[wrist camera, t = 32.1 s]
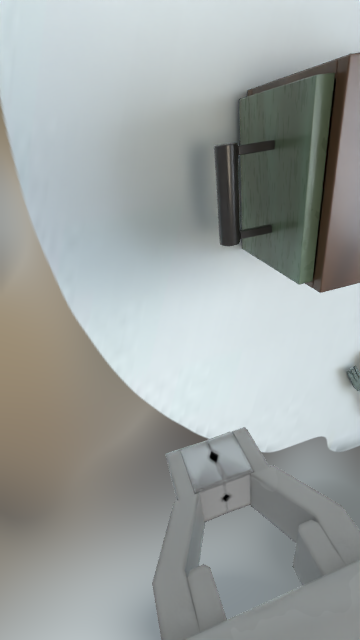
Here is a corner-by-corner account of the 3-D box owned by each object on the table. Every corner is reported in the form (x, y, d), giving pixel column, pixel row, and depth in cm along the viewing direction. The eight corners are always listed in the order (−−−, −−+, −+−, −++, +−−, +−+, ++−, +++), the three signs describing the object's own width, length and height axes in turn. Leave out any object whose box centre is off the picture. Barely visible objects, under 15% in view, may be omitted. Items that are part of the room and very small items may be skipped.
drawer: (201, 257, 31) (245, 298, 22) (187, 105, 24) (241, 83, 16) (355, 223, 34) (445, 248, 25) (380, 80, 27) (510, 50, 19)
